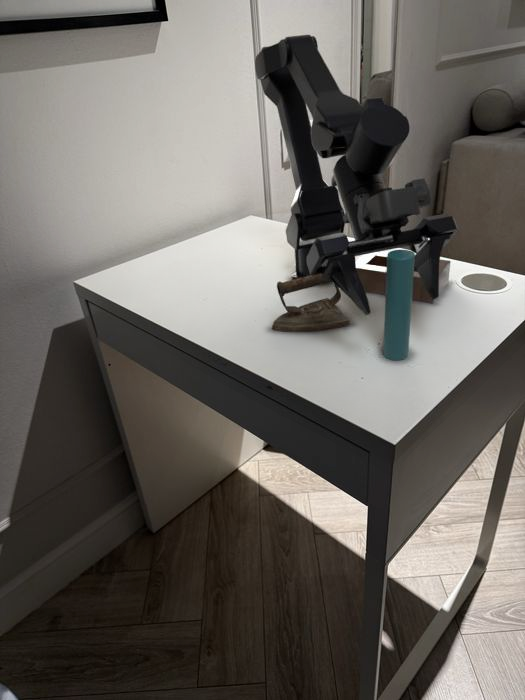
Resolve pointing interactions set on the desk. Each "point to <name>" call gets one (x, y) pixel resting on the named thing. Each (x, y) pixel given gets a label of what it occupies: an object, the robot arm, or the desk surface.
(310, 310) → the clothes iron
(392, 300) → the peg
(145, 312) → the desk surface
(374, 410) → the desk surface
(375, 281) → the peg block
